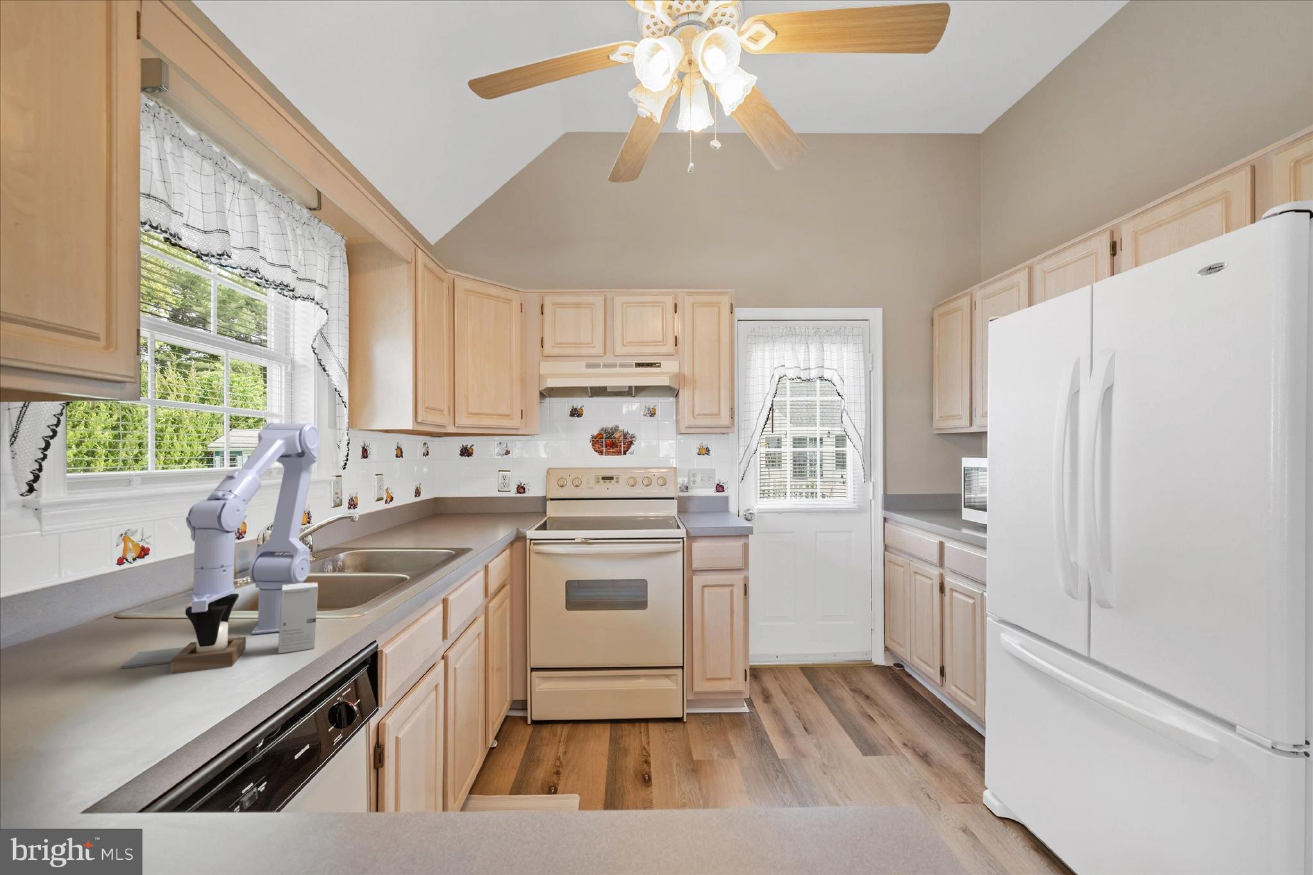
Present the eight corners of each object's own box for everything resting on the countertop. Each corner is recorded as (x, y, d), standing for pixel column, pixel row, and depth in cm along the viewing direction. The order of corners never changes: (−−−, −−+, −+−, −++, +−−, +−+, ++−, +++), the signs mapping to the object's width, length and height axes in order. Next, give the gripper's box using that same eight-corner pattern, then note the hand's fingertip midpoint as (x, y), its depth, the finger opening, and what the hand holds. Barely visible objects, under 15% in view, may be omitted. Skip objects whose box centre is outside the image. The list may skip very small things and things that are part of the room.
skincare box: (277, 654, 102) (279, 589, 102) (278, 647, 106) (280, 584, 106) (316, 648, 105) (318, 585, 105) (315, 641, 109) (317, 580, 109)
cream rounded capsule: (201, 655, 100) (201, 623, 100) (230, 652, 101) (231, 620, 101) (191, 665, 96) (192, 630, 96) (222, 661, 97) (223, 627, 97)
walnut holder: (190, 655, 100) (190, 642, 101) (245, 649, 104) (245, 636, 104) (171, 673, 93) (172, 658, 93) (231, 666, 96) (232, 652, 96)
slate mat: (139, 654, 101) (139, 651, 101) (186, 648, 104) (187, 646, 104) (120, 668, 94) (120, 666, 94) (171, 662, 97) (171, 660, 97)
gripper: (201, 559, 104) (199, 630, 103) (169, 576, 90) (167, 658, 90) (246, 556, 107) (244, 626, 106) (222, 573, 93) (219, 652, 93)
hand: (212, 640), depth 98 cm, fingers closed on cream rounded capsule, 4 cm apart
